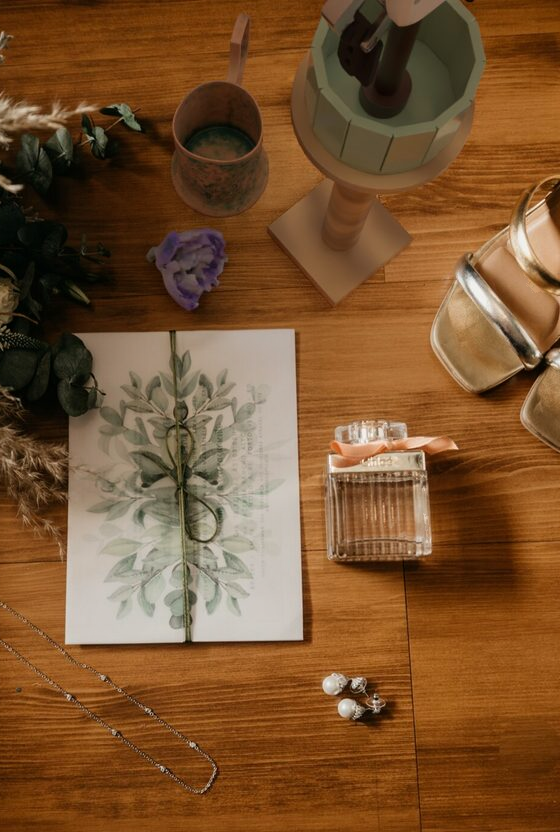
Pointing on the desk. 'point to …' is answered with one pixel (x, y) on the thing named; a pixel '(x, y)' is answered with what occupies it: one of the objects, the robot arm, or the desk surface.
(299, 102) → the stand
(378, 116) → the dark brown stemmed peg
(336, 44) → the bowl
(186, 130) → the mug
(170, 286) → the flower
